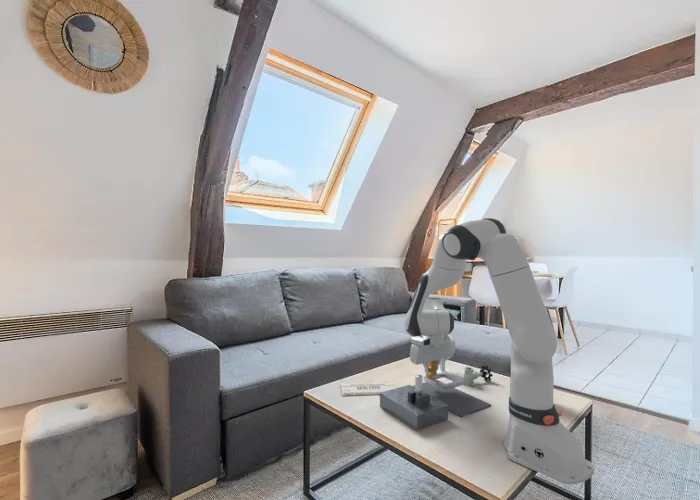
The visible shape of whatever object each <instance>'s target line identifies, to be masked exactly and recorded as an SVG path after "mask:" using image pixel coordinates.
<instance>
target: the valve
mask: <svg viewBox="0 0 700 500" xmlns="http://www.w3.org/2000/svg"><path fill="white" fill-rule="evenodd" d="M480 368H481V369H480V370H479V372H477V371H475V370H474V368H473V367H470V366H469V367H467V366H466V367H464V373H463V378H464V379H463V380H464V381H465V385H467V386H474V380H477V379H478V378H479V377H481V378H483V379H484V381H485V382H487V381H488V382H490V381H492V378H491V377H493V376H494V375H493V374H492V373H491V372H492V369H491V368H489V366H488V365H482V366H481V367H480Z"/></svg>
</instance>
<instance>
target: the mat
mask: <svg viewBox="0 0 700 500" xmlns="http://www.w3.org/2000/svg"><path fill="white" fill-rule="evenodd" d="M435 380H436V381H438V382H441V383H443V384H446V383H445V382H442V381H441V380H439V379H435ZM412 386H413V387H415V384H414V385H412ZM422 392H424V393H428V394H430V396H432V397H434V398H436V399H438V400H440V401H442V402H444V403H446V404H447V405H449V406H448V412H450V413H452V414H454V415H456V416H458V417H460V418H462V417H465V416H468V415H471V414H474V413H476V412H480V411H482V410H484V409H488V408H489V407H492V404H490V403H488V402H487V401H484V400H482V399H479V398H478V397H475V396H473V395H471V394H469V393H466V392H465V391H462V390H460V389H459V388H457V387H455V388H452V389H448V390H442V389H440V388H438V387H436V386H434V385H432V384H430V383H428V382H426V381H424V382H422Z"/></svg>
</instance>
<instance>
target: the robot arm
mask: <svg viewBox="0 0 700 500" xmlns="http://www.w3.org/2000/svg"><path fill="white" fill-rule="evenodd" d="M434 249H435V250H434V254H433V259H432V263H431V265H430V267H429V269H427V271H426V272H424V273H423V274H421V275H420V278H419V279H418V282H417V285H416V287H415V290H414V294H413V296H412V298H411V302H410V305H409V308H408V309H407V311H406V314H405V317H404V324H403V325H404V331H405V332H407V333H408V334H409V335H410V336H412V337H411V338H410V342H411V343H412V344H411V345H410V351H409V360H410V362H411V364H414V365H416V366H417V365H422V366H423V367H424V373H425V374H426V373H429V372H430V368H429V367H428V364H429V362H431V361H436V360H437V370H438V367H440V362H441V359H444V358H449V357H451V355H452V346H451V342H450V337H449V336H448V335H450V334H451V333H452V332H453V331H454V329H455V317H454V315H453V314H452V313H451V312H450V311H449V310H447V309H446V308H445V307H444V301H443V299H442V298H439V297H429V296H430V295H432V294H434V293H436V292H439V291H441V290H445V289H449V288H451V287H454V286H455V285H457V284H458V283H459V282H460V281H461V280H462V279H463V277H464V274H465V271H466V270H465V268H466V265H467V260H468V261H475V260H476V259H477V258H479V259H481V260H482V261H483V262H484V263H485V265H486V268H487V270H488V271H487V272H488V274H489V277H490V280H491V283H492V285H493V288H494V290H495V293H496V296H497V299H498V302H499V307H500V308H501V313H502V315H503V319H504V321H505V324H506V327H507V330H508V333H509V337H510V376H511V396H509V397H508V412H509V419H508V426H507V430H506V434H505V439H504V441H503V447H504V449H505V450H506V452H507V458H508V459H509V460H510V461H512V462H515V463H516V464H519V465H522V466H523V467H526V468H528V469H530V470H532V471H535V472H537V473H539V474H541V475H543V476H546V477H549V478H550V479H553V480H555V481H557V482H560V483H562V484H564V485H577V484H581V483H584V482H586V481H588V480H589V479H591V477H593V476H594V473H595V466H594V464H593V463H592V462H591V461H589V460H588V459H586V458H585V455H584V450H583V449H584V447H583V446H582V444H581V442H580V440H578V439H577V437H576V436H574V435H573V433H572V432H571V431H570V430H569V429H568V428H567V427H566V426H565V425H564V424H563V423H562V422H561V421H560V420H561V419H560V417H562V416H563V412H564V411H563V410H561V411H557V408H556V406H555V404H554V383H555V382H554V377H555V376H554V367H553V357H554V355H555V354H556V351H557V347H558V338H557V337H558V336H557V333H556V331H555V329H554V326H553V323H552V321H551V319H550V317H549V313H548V310H547V309H546V306H545V303H544V301H543V298H542V296H541V293H540V291H539V288H538V285H537V282H536V281H535V277H534V275H533V272H532V269H531V266H530V264H529V261H528V259H527V257H526V254H525V252H524V250H523V248H522V247H521V245H520V243H519V241H518V240H517V238H516V237H515V236H514V235H512V234H510V233H507V231H506V227H505V226H504V224H503V223H502V222H501V221H500V220H498V219H496V218H491V217H489V218H487V217H486V218H482V219H476V220H469V221H466V222H462V223H460V224H457V225H456V224H455V225H453V226H451V227H450V228H448V229H447V230H446V231H445V232H444V233H441V235H440V236H439V238H438V241H437V243H436V245H435V248H434ZM451 358H452V357H451Z"/></svg>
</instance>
